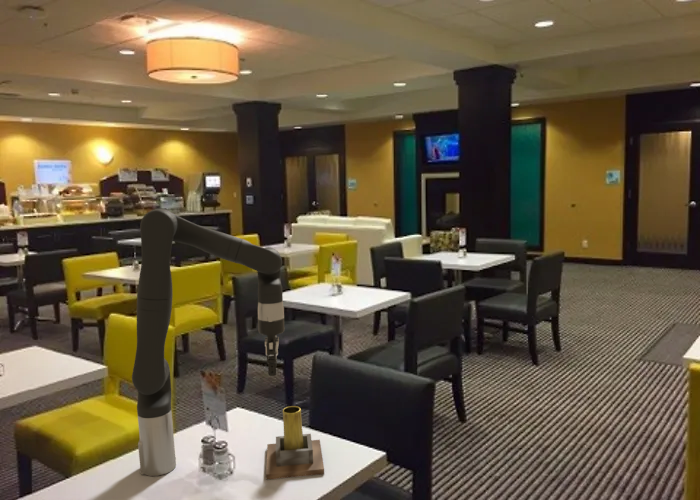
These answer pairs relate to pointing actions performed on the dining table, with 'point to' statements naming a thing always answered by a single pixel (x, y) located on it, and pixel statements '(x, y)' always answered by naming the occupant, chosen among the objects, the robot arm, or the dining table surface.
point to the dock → (294, 459)
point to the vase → (292, 428)
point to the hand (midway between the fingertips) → (272, 370)
